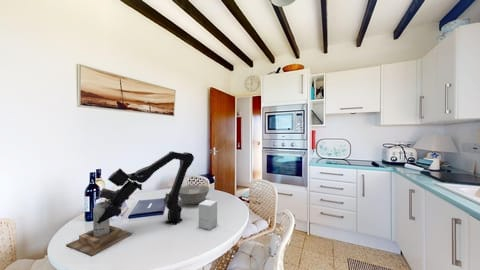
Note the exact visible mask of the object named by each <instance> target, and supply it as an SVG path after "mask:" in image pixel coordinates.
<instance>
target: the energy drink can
mask: <svg viewBox="0 0 480 270" xmlns="http://www.w3.org/2000/svg"><path fill="white" fill-rule="evenodd" d="M107 205H108V202H105V201H100V202H97V203H95V204H94V207H93V209H92V215H93V216H92V217H93V219H92V221H93V223H92V224H93V225H92V227H93V229H92V230H93V235H94V237H95V238H99V237H101V236H104V235H106V234H108V233H109V232H110V227H109V225H110V218H109V219H107V220H105V221H103V222H101V223H99V224H98V223H97V221H98V220H99V218H100V217H101V216H102V214H103V213H104V212H105V207H106V206H107Z"/></svg>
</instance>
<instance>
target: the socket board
mask: <svg viewBox="0 0 480 270" xmlns="http://www.w3.org/2000/svg"><path fill="white" fill-rule="evenodd" d="M109 227H110V232H109V233H108V234H106V235H104V236H101V237H99V238H95V237H94V235H93V229H91V230H89V231H86V232H85V233H82V234H79V235H78V239H76V240H74V241H71V242H69V243H66V245H65V247H68V248H70V249H73V250H76V251H77V252H80V253H83V254H85V255H88V256H90V257H94V256H96V255H97V254H99V253H101V252H102V251H104V250H106V249H108V248H111V247H112V246H114V245H116V244H118V243H120V242H121V241H123V240H125V239H127V238H129V237H131V236H133V234H134V233H132V232H129V231H126V230H123V229H122V228H120V227H116V226H112V225H110V224H109Z"/></svg>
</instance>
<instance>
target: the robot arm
mask: <svg viewBox="0 0 480 270" xmlns="http://www.w3.org/2000/svg"><path fill="white" fill-rule="evenodd" d="M194 159H195V156H194V155H193V154H192V153H191V152H187V151H185V152H176V151H172V150H171V151H168V153H167V154H166V155H164V156H162V157H161V158H159V159H157V160H155V161H154V162H153V163H151V164H150V165H147V166H145V167H142V168H140V169H138V170H136V171H135V172H132V173H126V172H125V171H124V170H123V169H122V168H118V169H117V170H115V171H114V172H112V174H110V176H109V177H107V180H108V181H109V182H110V183H112V184H114V185H115V186H116V187H121V188H120V189H117V190H116V191H115V190H111V189H108V188H102V189H101V190H100V193H99V196H98V197H99V198H101V199H105V200H104V202H108V205H107V206H106V207H105V212H104V213H103V214H102V216H101V217H100V218H99V220H98V221H97V223H98V224H99V223H101V222H103V221H105V220H107V219H109V220H110V219H111V218H113V217H119V216H120V215H121V214H122V206H123V204H124V203H125V202H126V201H128V200H129V199H130V197H131V196H132V195H133V194H134V192H135V191H136V190H137V189H138V190H139V191H142V190H143V187H142V186H143V184H144V183H146V182H147V181H148V180H149V179H150V178H151V177H152V176H153V175H154V173H156V172H157V171H158V170H160V169H161V168H163V167H164V166H166V165H167V164H169V163H170V162H172V161H173V160H179V167H178V169H177V173H176V175H175V179H174V182H173V185H172V186H171V190H170V192H169V193H167V192H166V193H165V195H164V196H165V197H164V199H163V204H164V206H165V208H166V209H167V211H168V212H167V220H166V221H165V223H167V224H171V225H177V224H179V223H181V222H183V218H182V213H181V212H182V210H183V207H182V206H181V205H179V201H180V200H179V199H180V197H179V191H180V189H181V187H183V186H182V185H183V184H184V183H183V182H184V180H185V178H186V174H187V170H188V169H189V168H190V166H191V165H192V164H193V162H194Z"/></svg>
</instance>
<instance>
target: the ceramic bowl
mask: <svg viewBox="0 0 480 270" xmlns="http://www.w3.org/2000/svg"><path fill="white" fill-rule="evenodd" d="M209 191H210V188H209V186H207V185H201V184H188V185H184V186H181V189H180V191H179V199H180V200H181V201H182V202H183V203H184V204H186V205H197V204H198V205H199V203H201V202H203V201H205V200H206V199H205V198H206V197H207V195H208V194H209Z"/></svg>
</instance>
